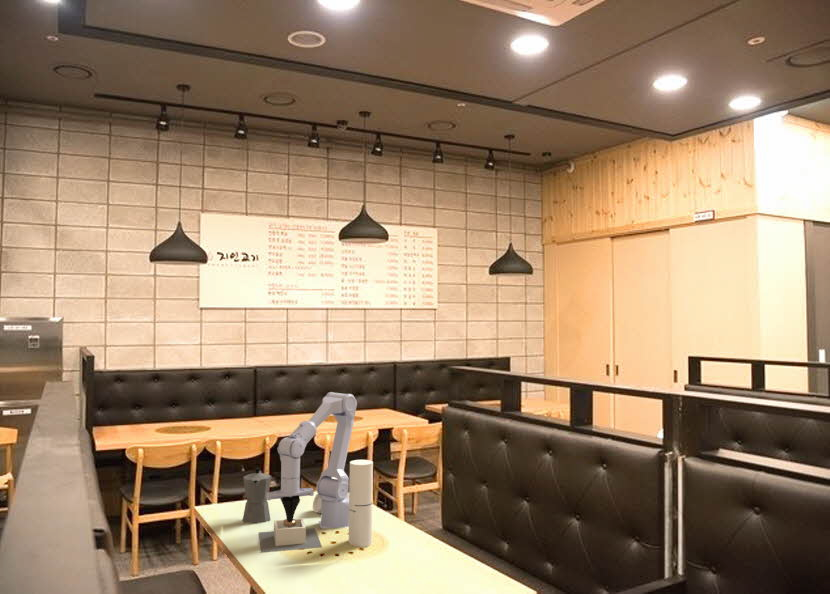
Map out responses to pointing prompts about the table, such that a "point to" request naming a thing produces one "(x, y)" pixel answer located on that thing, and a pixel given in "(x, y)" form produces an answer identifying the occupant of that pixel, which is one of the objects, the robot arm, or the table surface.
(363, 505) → the cylindrical container
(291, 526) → the plunger
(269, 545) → the mat
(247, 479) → the coffeepot
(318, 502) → the spread jar
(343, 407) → the robot arm
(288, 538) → the press
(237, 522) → the table surface
